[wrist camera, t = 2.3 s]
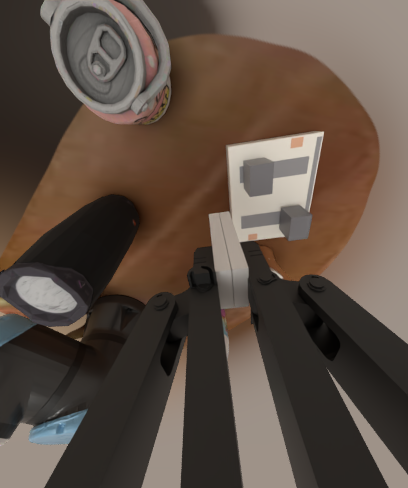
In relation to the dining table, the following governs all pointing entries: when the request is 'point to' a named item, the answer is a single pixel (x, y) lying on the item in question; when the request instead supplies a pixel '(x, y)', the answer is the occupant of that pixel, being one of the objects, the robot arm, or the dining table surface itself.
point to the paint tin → (111, 57)
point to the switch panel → (284, 182)
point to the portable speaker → (71, 263)
